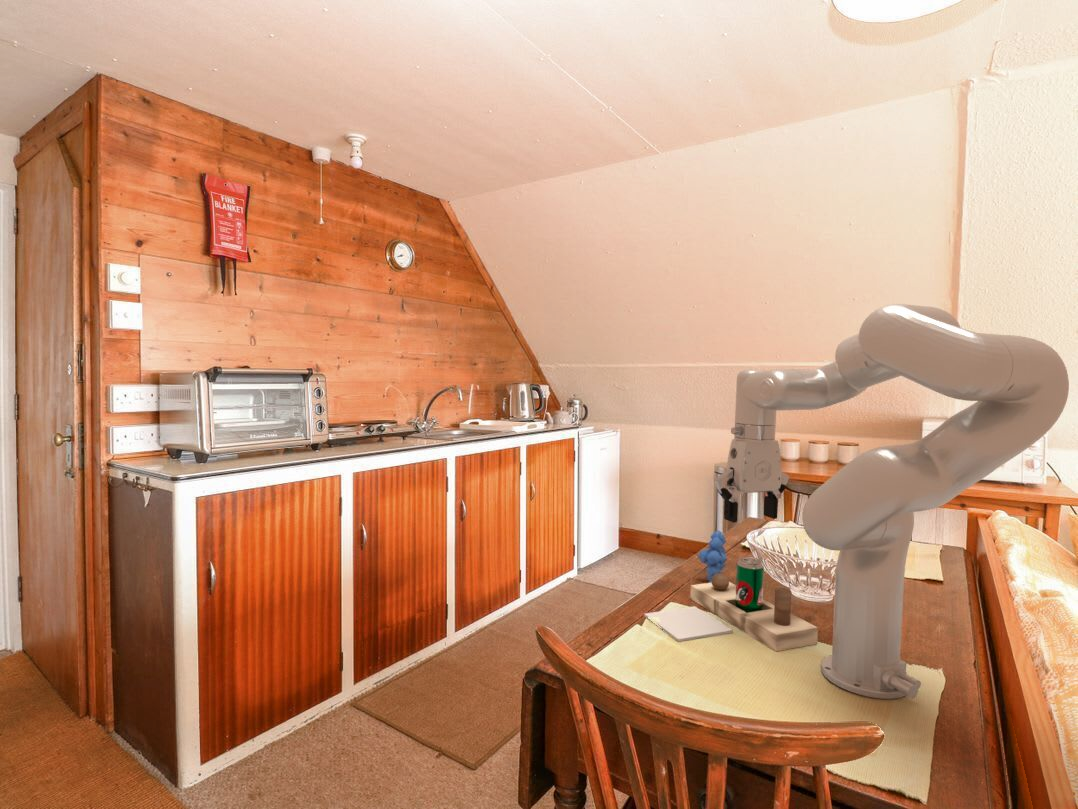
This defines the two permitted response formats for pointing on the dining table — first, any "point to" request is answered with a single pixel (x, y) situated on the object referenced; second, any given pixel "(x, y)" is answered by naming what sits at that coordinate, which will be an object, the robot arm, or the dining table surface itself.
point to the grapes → (714, 555)
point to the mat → (689, 623)
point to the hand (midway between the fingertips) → (750, 518)
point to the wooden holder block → (757, 615)
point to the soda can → (749, 584)
